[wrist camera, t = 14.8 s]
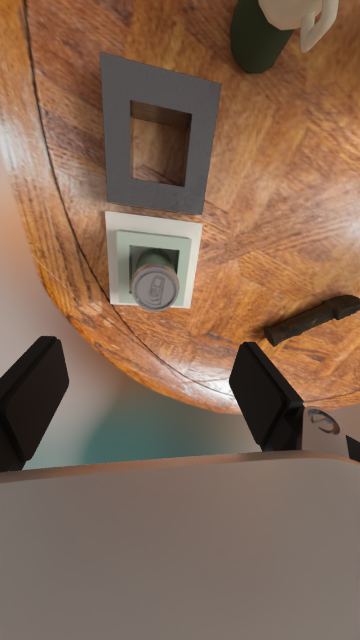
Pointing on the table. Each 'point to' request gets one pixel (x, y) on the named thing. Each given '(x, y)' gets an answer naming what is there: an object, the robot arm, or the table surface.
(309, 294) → the table surface
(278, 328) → the hand tool
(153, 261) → the beer can
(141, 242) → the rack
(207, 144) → the socket block
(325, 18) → the character mug
